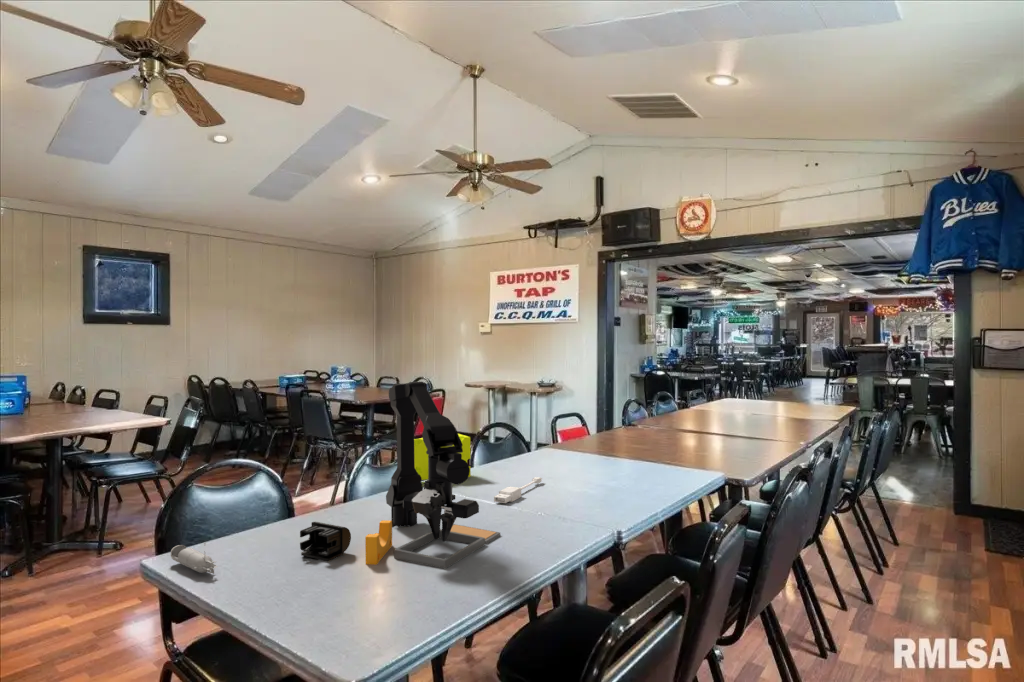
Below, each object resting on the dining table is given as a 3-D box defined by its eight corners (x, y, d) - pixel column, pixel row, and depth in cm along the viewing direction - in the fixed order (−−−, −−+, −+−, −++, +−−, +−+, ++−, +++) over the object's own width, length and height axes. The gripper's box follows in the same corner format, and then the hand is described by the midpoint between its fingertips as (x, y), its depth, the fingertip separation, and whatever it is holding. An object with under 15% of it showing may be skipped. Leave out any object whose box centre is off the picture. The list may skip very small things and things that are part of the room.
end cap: (351, 552, 139) (351, 524, 139) (329, 562, 132) (329, 533, 132) (321, 545, 143) (320, 518, 143) (298, 555, 137) (298, 526, 137)
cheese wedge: (464, 482, 205) (463, 441, 205) (410, 480, 209) (410, 440, 209) (476, 470, 224) (476, 432, 224) (427, 468, 228) (427, 431, 228)
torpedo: (164, 562, 133) (164, 534, 133) (185, 555, 137) (185, 528, 137) (202, 580, 123) (202, 550, 123) (224, 573, 127) (224, 543, 127)
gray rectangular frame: (394, 558, 134) (394, 549, 134) (436, 536, 149) (436, 528, 149) (445, 569, 127) (445, 560, 127) (484, 545, 142) (484, 537, 142)
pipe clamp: (375, 546, 143) (374, 520, 143) (392, 546, 142) (391, 520, 142) (358, 564, 131) (357, 536, 131) (376, 565, 130) (376, 537, 130)
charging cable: (546, 483, 205) (546, 474, 205) (506, 505, 177) (506, 495, 177) (534, 482, 207) (534, 473, 207) (493, 503, 180) (493, 493, 180)
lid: (438, 535, 150) (438, 531, 150) (453, 527, 156) (453, 523, 156) (486, 545, 143) (486, 540, 143) (500, 536, 149) (500, 531, 149)
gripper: (387, 478, 136) (388, 544, 136) (453, 487, 127) (453, 558, 127) (417, 468, 145) (417, 530, 145) (479, 477, 136) (480, 542, 136)
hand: (440, 540), depth 138 cm, fingers closed
